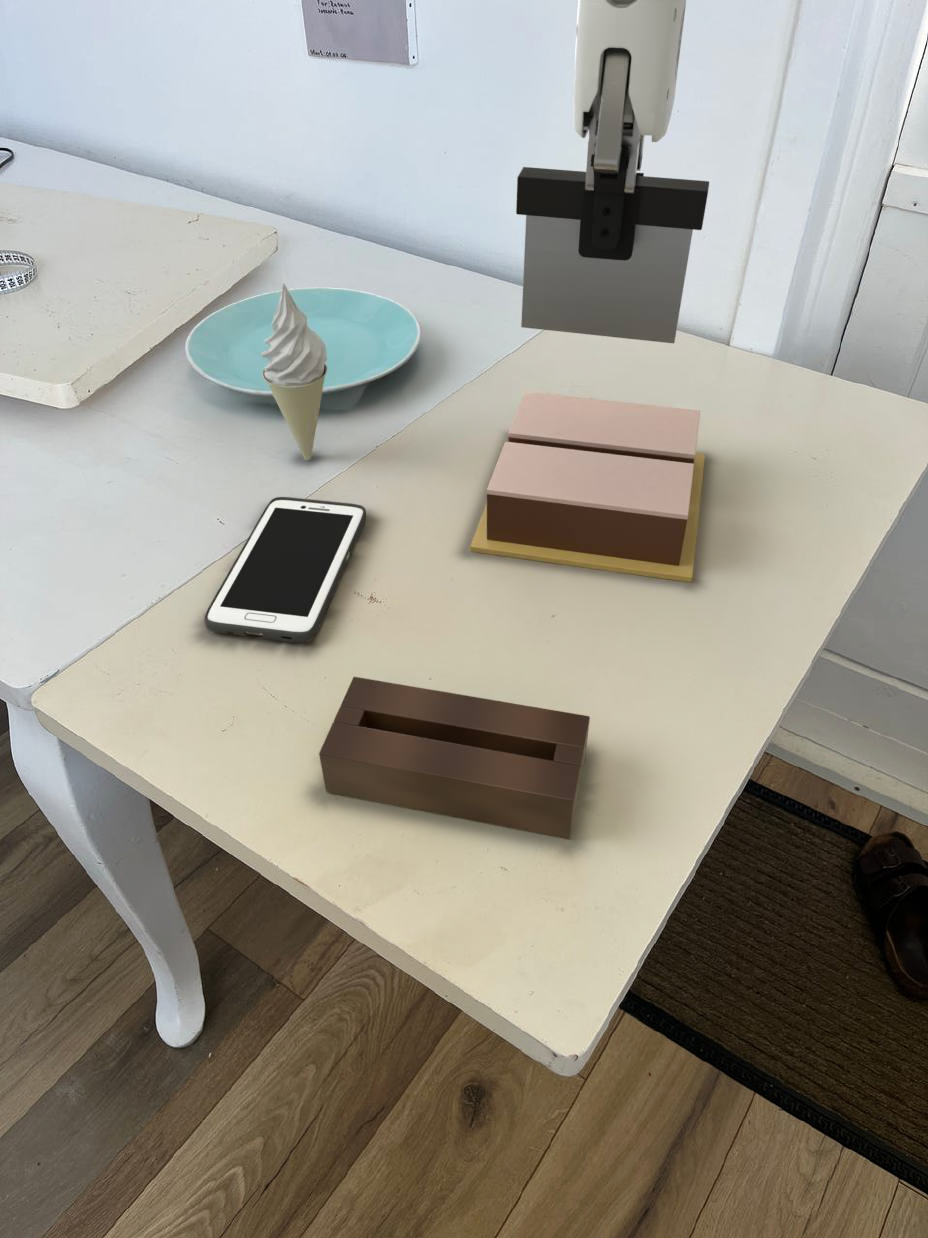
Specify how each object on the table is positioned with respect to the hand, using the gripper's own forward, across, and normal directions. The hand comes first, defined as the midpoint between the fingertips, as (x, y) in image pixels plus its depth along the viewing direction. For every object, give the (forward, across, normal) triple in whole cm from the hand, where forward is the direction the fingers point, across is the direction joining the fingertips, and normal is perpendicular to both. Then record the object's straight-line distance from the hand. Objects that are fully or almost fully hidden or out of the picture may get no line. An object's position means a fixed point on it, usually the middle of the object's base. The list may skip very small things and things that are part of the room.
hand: (607, 246), depth 58 cm
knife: (+6, 0, 0) cm, 6 cm away
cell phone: (+21, -10, +20) cm, 31 cm away
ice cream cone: (+21, +4, +24) cm, 32 cm away
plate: (+21, +20, +29) cm, 41 cm away
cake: (+21, +2, 0) cm, 21 cm away
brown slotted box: (+21, -25, +4) cm, 33 cm away
